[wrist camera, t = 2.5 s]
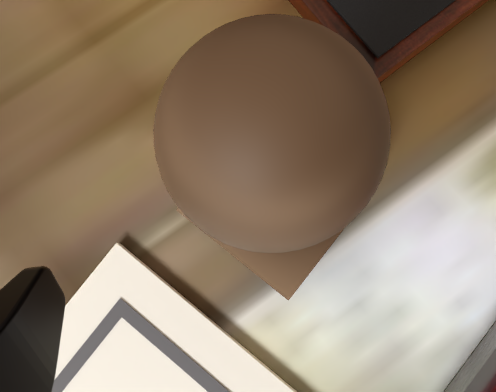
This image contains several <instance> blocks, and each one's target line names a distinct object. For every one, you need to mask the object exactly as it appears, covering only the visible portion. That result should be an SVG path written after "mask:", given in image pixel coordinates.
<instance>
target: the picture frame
mask: <svg viewBox="0 0 496 392" xmlns="http://www.w3.org/2000/svg"><path fill="white" fill-rule="evenodd" d="M289 1H290V2H291V4H292V5H293V6H294V7H295V8H296V10H297V11H298V12H299V13H300V14H301V15H302V17H303V18H304V19H307V20H311V21H314V22H316V23H318V24H320V25H323V26H325V27H327V28H329V29H330V30H332V31H334V32H335V33H337V34H339V35H340V36H342V37H343V38H344V39H345V40H347V41H348V42H349V43H350V44H352V45H353V46H354V47H355V48H356V49H357V50H358V51H359V52H360V53H361V55H362V56H363V57H364V58H365V60H366V61H367V62H368V64H369V65H370V66H371V68H372V69H373V71H374V73H375V75H376V77H377V79H378V80H379V83H380V82H382V81H383V80H384V79H386V78H387V77H388V76H389V75H391V74H392V73H393V72H395V71H396V70H397V69H399V68H400V67H401V66H403V65H404V64H405V63H407V62H408V61H409V60H411V59H412V58H413V57H415V56H416V55H417V54H419V53H420V52H421V51H423V50H424V49H425V48H427V47H428V46H429V45H431V44H432V43H433V42H435V41H436V40H437V39H438V38H440V37H441V36H442V35H444V34H445V33H446V32H448V31H449V30H450V29H452V28H453V27H454V26H456V25H457V24H458V23H460V22H461V21H462V20H464V19H465V18H466V17H468V16H469V15H470V14H472V13H473V12H474V11H476V10H477V9H478V8H480V7H481V6H482V5H484V4H485V3H486V2H487V1H489V0H289Z"/></svg>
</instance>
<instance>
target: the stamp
mask: <svg viewBox="0 0 496 392" xmlns="http://www.w3.org/2000/svg"><path fill="white" fill-rule="evenodd" d="M153 131H154V149H155V156H156V161H157V164H158V167H159V171H160V174H161V178H162V180H163V182H164V184H165V186H166V189H167V191H168V193H169V194H170V196H171V197H172V199H173V201H174V202H175V204H176V205H177V206H178V208H177V209H176V210H177V211H178V212H179V213H181V214H182V215H183V216H184V217H186V218H187V219H188V220H189V221H190V222H192V223H193V224H194V225H195V226H197V227H198V228H199V229H200V230H202V231H203V232H204V233H205V234H207V235H208V236H209V237H210V238H212V239H213V240H214V241H215V242H217V243H218V244H219V245H220V246H221V247H223V248H224V249H225V250H226V251H228V252H229V253H230V254H231V255H233V256H234V257H235V258H236V259H238V260H239V261H240V262H241V263H243V264H244V265H245V266H246V267H247V268H249V269H250V270H251V271H252V272H254V273H255V274H256V275H257V276H259V277H260V278H261V279H262V280H264V281H265V282H266V283H267V284H269V285H270V286H271V287H272V288H274V289H275V290H276V291H277V292H278V293H280V294H281V295H282V296H283V297H285V298H286V299H287V300H289V299H290V298H291V297H292V295H293V294H294V293H295V291H296V290H297V289H298V288H299V286H300V285H301V284H302V282H303V281H304V280H305V279H306V277H307V276H308V275H309V273H310V272H311V271H312V269H313V268H314V267H315V266H316V264H317V263H318V262H319V260H320V259H321V258H322V257H323V255H324V254H325V253H326V251H327V250H328V249H329V247H330V246H331V245H332V244H333V242H334V241H335V240H336V238H337V237H338V236H339V235H340V233H341V232H342V231H343V229H344V228H345V227H346V226H347V225H348V224H349V223H350V222H352V221H353V220H354V219H355V218H356V217H357V216H358V214H359V213H360V212H361V211H362V210H363V209H364V208H365V206H366V205H367V204H368V202H369V201H370V199H371V198H372V196H373V195H374V193H375V192H376V190H377V187H378V185H379V183H380V181H381V179H382V177H383V174H384V171H385V168H386V165H387V160H388V154H389V149H390V134H391V126H390V116H389V110H388V106H387V102H386V98H385V95H384V93H383V90H382V88H381V85H380V83H379V80H378V79H377V77H376V75H375V73H374V71H373V69H372V68H371V66H370V65H369V64H368V62H367V61H366V60H365V58H364V57H363V56H362V55H361V53H360V52H359V51H358V50H357V49H356V48H355V47H354V46H353V45H352V44H350V43H349V42H348V41H347V40H345V39H344V38H343V37H342V36H340V35H339V34H337V33H335V32H334V31H332V30H330V29H329V28H327V27H325V26H323V25H320V24H318V23H316V22H314V21H311V20H307V19H304V18H301V17H296V16H290V15H280V14H265V15H255V16H250V17H245V18H241V19H238V20H235V21H232V22H229V23H227V24H225V25H223V26H221V27H219V28H217V29H215V30H213V31H212V32H210V33H208V34H207V35H205V36H204V37H203V38H201V39H200V40H199V41H198V42H197V43H195V44H194V45H193V46H192V47H191V48H190V49H189V50H188V51H187V52H186V53H185V54H184V55H183V56H182V57H181V58H180V60H179V61H178V62H177V64H176V65H175V67H174V68H173V69H172V71H171V73H170V75H169V76H168V78H167V80H166V82H165V84H164V86H163V89H162V92H161V94H160V97H159V101H158V105H157V109H156V113H155V120H154V129H153Z"/></svg>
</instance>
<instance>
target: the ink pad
mask: <svg viewBox="0 0 496 392" xmlns="http://www.w3.org/2000/svg"><path fill="white" fill-rule="evenodd" d="M444 392H496V322H495V323H494V325H493V326H492V327H491V329H490V330H489V331H488V333H487V334H486V335H485V337H484V338H483V339H482V341H481V342H480V343H479V345H478V346H477V348H476V349H475V350H474V352H473V353H472V354H471V356H470V357H469V358H468V360H467V361H466V362H465V364H464V365H463V367H462V368H461V369H460V371H459V372H458V373H457V375H456V376H455V377H454V379H453V380H452V381H451V383H450V384H449V386H448V387H447V388H446V390H445V391H444Z"/></svg>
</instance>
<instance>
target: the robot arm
mask: <svg viewBox="0 0 496 392" xmlns="http://www.w3.org/2000/svg"><path fill="white" fill-rule="evenodd" d="M64 312H65V296H64V293H63V291H62V289H61V288H60V286H59V284H58V282H57V281H56V279H55V277H54V275H53V274H52V272H51V270H50V269H49V268H48V267H45V266H40V267H31V268H26V269H24V270H22V271H21V272H20V273H19V274H18V275H16V276H15V277H14V278H13V279H12V280H11V281H10V282H9V283H8V284H6V285H5V286H4V287H3V288H2V289H1V290H0V392H52V388H53V384H54V379H55V374H56V368H57V361H58V354H59V347H60V340H61V333H62V326H63V319H64Z"/></svg>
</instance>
